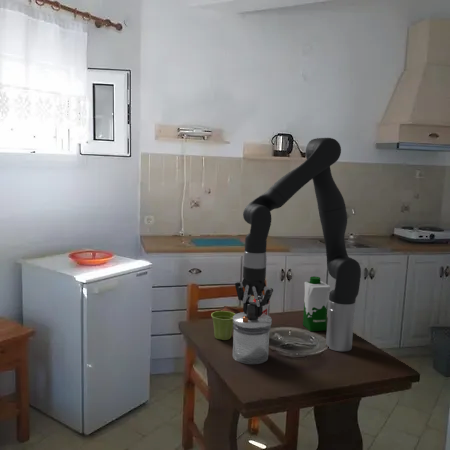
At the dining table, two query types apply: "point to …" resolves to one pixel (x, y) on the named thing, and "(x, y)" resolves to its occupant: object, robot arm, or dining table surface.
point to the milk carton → (316, 305)
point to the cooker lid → (252, 318)
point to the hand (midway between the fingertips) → (252, 314)
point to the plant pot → (223, 324)
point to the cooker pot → (250, 344)
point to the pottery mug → (230, 309)
